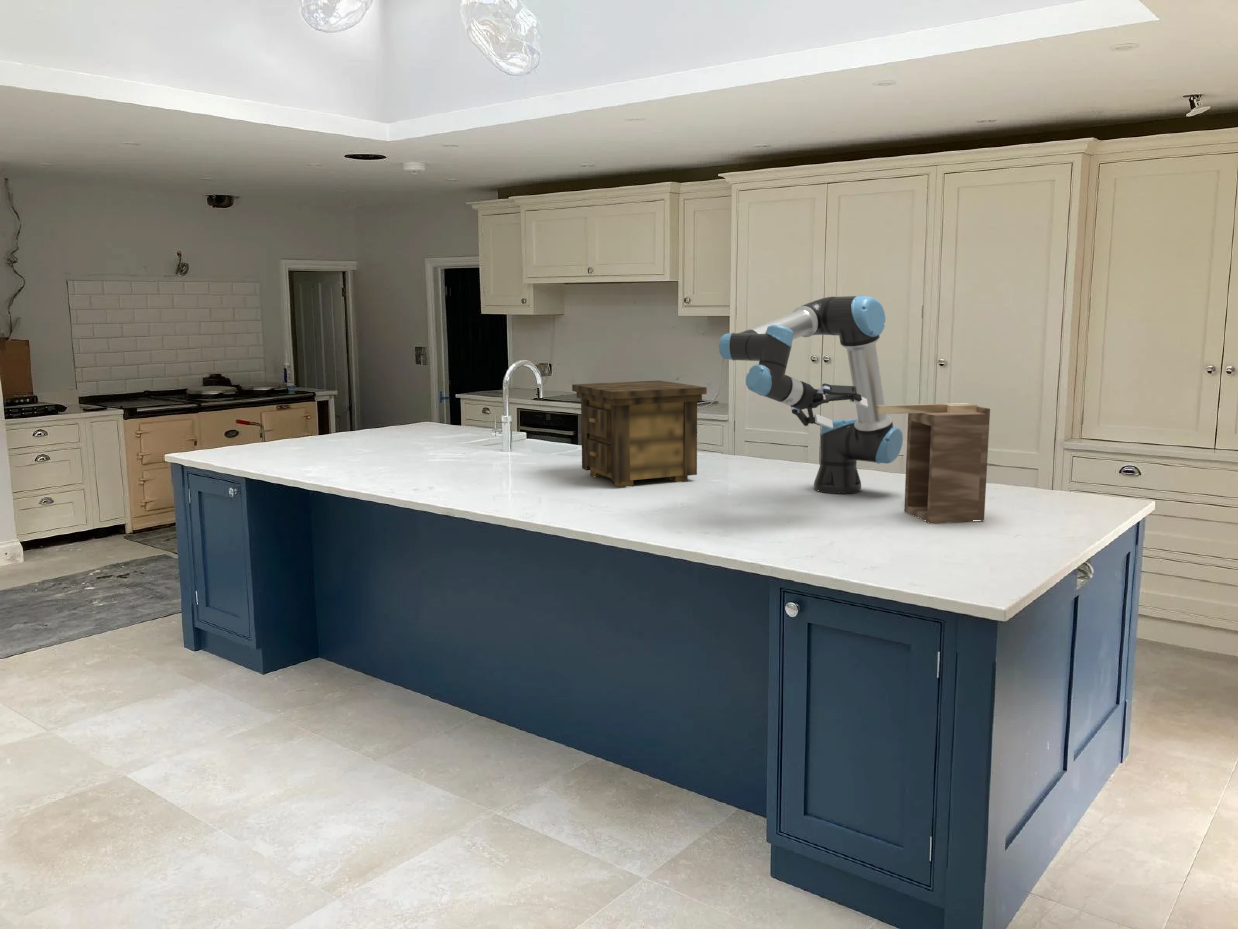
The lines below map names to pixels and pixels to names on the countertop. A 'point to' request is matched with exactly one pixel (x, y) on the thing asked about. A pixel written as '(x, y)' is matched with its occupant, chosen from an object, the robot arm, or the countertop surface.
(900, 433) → the robot arm
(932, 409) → the beige long flat part
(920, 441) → the walnut shelf
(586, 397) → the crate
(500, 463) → the countertop surface
